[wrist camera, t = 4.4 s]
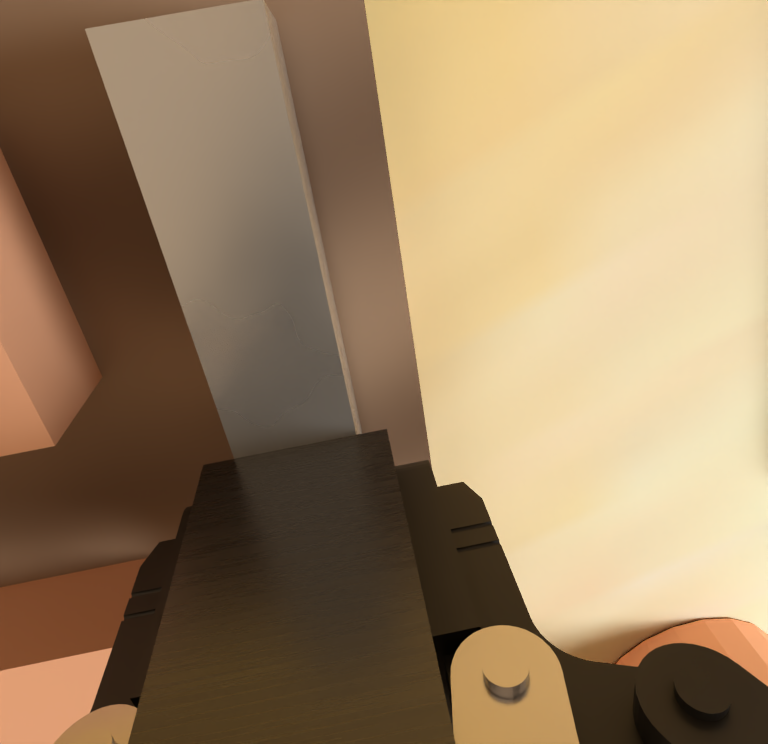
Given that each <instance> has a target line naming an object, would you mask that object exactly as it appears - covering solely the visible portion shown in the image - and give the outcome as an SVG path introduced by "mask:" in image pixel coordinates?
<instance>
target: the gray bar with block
mask: <svg viewBox="0 0 768 744" xmlns="http://www.w3.org/2000/svg"><path fill="white" fill-rule="evenodd" d="M85 31H86V34H87V37H88V40H89V42H90V45H91V48H92V51H93V54H94V57H95V60H96V63H97V65H98V68H99V71H100V74H101V77H102V80H103V83H104V86H105V89H106V91H107V94H108V97H109V100H110V103H111V106H112V109H113V112H114V114H115V117H116V120H117V123H118V126H119V129H120V132H121V135H122V137H123V140H124V143H125V146H126V149H127V152H128V155H129V158H130V160H131V163H132V166H133V169H134V172H135V175H136V178H137V181H138V183H139V186H140V189H141V192H142V195H143V198H144V201H145V204H146V207H147V209H148V212H149V215H150V218H151V221H152V224H153V227H154V230H155V232H156V235H157V238H158V241H159V244H160V247H161V250H162V253H163V255H164V258H165V261H166V264H167V267H168V270H169V273H170V276H171V278H172V281H173V284H174V287H175V290H176V293H177V296H178V299H179V302H180V304H181V307H182V310H183V313H184V316H185V319H186V322H187V325H188V327H189V330H190V333H191V336H192V339H193V342H194V345H195V348H196V350H197V353H198V356H199V359H200V362H201V365H202V368H203V371H204V373H205V376H206V379H207V382H208V385H209V388H210V391H211V394H212V396H213V399H214V402H215V405H216V408H217V411H218V414H219V417H220V420H221V422H222V425H223V428H224V431H225V434H226V437H227V440H228V443H229V445H230V448H231V451H232V454H233V457H234V459H230V460H225V461H220V462H215V463H210V464H205V465H203V468H202V471H201V475H200V479H199V482H198V486H197V490H196V494H195V497H194V501H193V505H192V508H191V512H190V516H189V519H188V523H187V527H186V531H185V534H184V538H183V542H182V545H181V549H180V553H179V556H178V560H177V564H176V568H175V571H174V575H173V579H172V582H171V586H170V590H169V593H168V597H167V601H166V604H165V608H164V612H163V616H162V619H161V623H160V627H159V630H158V634H157V638H156V641H155V645H154V649H153V653H152V656H151V660H150V664H149V667H148V671H147V675H146V678H145V682H144V686H143V689H142V693H141V697H140V701H139V704H138V708H137V712H136V715H135V719H134V723H133V726H132V730H131V734H130V738H129V741H128V744H456V743H455V739H454V734H453V729H452V725H451V720H450V716H449V711H448V707H447V702H446V697H445V693H444V688H443V684H442V679H441V675H440V670H439V666H438V661H437V656H436V652H435V647H434V643H433V638H432V634H431V629H430V624H429V620H428V615H427V611H426V606H425V602H424V597H423V592H422V588H421V583H420V579H419V574H418V570H417V565H416V560H415V556H414V551H413V547H412V542H411V538H410V533H409V528H408V524H407V519H406V515H405V510H404V506H403V501H402V496H401V492H400V487H399V483H398V478H397V474H396V469H395V464H394V460H393V455H392V451H391V446H390V442H389V437H388V432H387V429H384V430H378V431H373V432H368V433H363V434H362V430H361V425H360V420H359V415H358V410H357V406H356V401H355V396H354V391H353V386H352V382H351V377H350V372H349V367H348V362H347V358H346V353H345V348H344V343H343V338H342V334H341V329H340V324H339V319H338V314H337V310H336V305H335V300H334V295H333V290H332V286H331V281H330V276H329V271H328V266H327V262H326V257H325V252H324V247H323V243H322V238H321V233H320V228H319V223H318V219H317V214H316V209H315V204H314V199H313V195H312V190H311V185H310V180H309V175H308V171H307V166H306V161H305V156H304V151H303V147H302V142H301V137H300V132H299V127H298V123H297V118H296V113H295V108H294V103H293V99H292V94H291V89H290V84H289V79H288V75H287V70H286V65H285V60H284V55H283V51H282V46H281V41H280V36H279V32H278V27H277V22H276V19H275V18H274V16H273V14H272V13H271V11H270V10H269V8H268V6H267V5H266V3H265V1H264V0H250V1H244V2H238V3H233V4H227V5H221V6H215V7H209V8H203V9H198V10H192V11H186V12H180V13H174V14H168V15H162V16H157V17H151V18H145V19H139V20H133V21H127V22H122V23H116V24H110V25H104V26H98V27H92V28H87V29H85Z"/></svg>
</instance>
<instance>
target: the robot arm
mask: <svg viewBox="0 0 768 744" xmlns="http://www.w3.org/2000/svg"><path fill="white" fill-rule="evenodd" d="M395 469H396V474H397V478H398V483H399V487H400V492H401V496H402V501H403V506H404V510H405V515H406V519H407V524H408V528H409V533H410V538H411V542H412V547H413V551H414V556H415V560H416V565H417V570H418V574H419V579H420V583H421V588H422V592H423V597H424V602H425V606H426V611H427V615H428V620H429V624H430V629H431V634H432V638H433V643H434V647H435V652H436V656H437V661H438V666H439V670H440V675H441V679H442V684H443V688H444V693H445V697H446V702H447V707H448V711H449V716H450V720H451V725H452V729H453V734H454V739H455V743H456V744H768V686H767V685H765V684H764V683H763V682H761V681H760V680H759V679H757V678H756V677H755V676H753V675H752V674H751V673H749V672H748V671H747V670H745V669H744V668H743V667H741V666H740V665H739V664H737V663H736V662H734V661H733V660H731V659H730V658H728V657H727V656H725V655H723V654H721V653H719V652H717V651H715V650H712V649H710V648H707V647H704V646H700V645H696V644H688V643H672V644H667V645H663V646H660V647H658V648H655V649H654V650H652V651H651V652H649V653H648V654H647V655H646V656H645V657H644V658H643V659H642V661H641V662H640V664H639V666H638V667H635V666H626V665H617V664H608V663H600V662H593V661H587V660H583V659H580V658H576V657H574V656H571V655H569V654H567V653H565V652H563V651H561V650H560V649H558V648H556V647H555V646H553V645H552V644H551V643H550V642H548V641H547V640H546V639H545V638H544V637H543V636H542V635H541V634H540V632H539V631H538V630H537V628H536V627H535V625H534V624H533V622H532V620H531V618H530V615H529V613H528V610H527V608H526V605H525V603H524V601H523V598H522V596H521V593H520V591H519V588H518V586H517V583H516V581H515V578H514V576H513V573H512V571H511V569H510V566H509V564H508V561H507V559H506V556H505V554H504V551H503V549H502V546H501V545H500V543H499V539H498V537H497V534H496V532H495V529H494V527H493V526H492V523H491V519H490V517H489V514H488V512H487V510H486V507H485V505H484V502H483V500H482V498H481V497H480V496H478V495H477V494H476V493H475V492H474V491H473V490H472V489H471V488H469V487H468V486H467V485H466V484H465V483H464V482H460V483H455V484H450V485H445V486H440V487H437V484H436V481H435V478H434V475H433V471H432V468H431V465H430V462H429V460H424V461H419V462H414V463H409V464H404V465H399V466H395ZM191 508H192V506H190V507H186V508H185V510H184V512H183V514H182V518H181V521H180V525H179V528H178V532H177V535H176V539H172V540H167V541H162V542H159V543H158V545H157V546H156V547H155V548H154V550H153V551H152V552H151V553H150V555H149V556H148V557H147V559H146V560H145V561H144V562H143V564H142V565H141V566H140V568H139V571H138V574H137V577H136V580H135V583H134V586H133V589H132V592H131V595H132V597H131V598H129V601H128V604H127V606H126V609H125V612H124V615H123V616H124V621H121V624H120V627H119V630H118V633H117V636H116V639H115V642H114V645H113V647H112V650H111V653H110V656H109V659H108V662H107V665H106V668H105V671H104V674H103V677H102V680H101V683H100V685H99V688H98V691H97V694H96V697H95V700H94V703H93V706H92V709H91V711H90V713H89V714H87V715H86V716H84V717H82V718H81V719H79V720H78V721H77V722H75V723H74V724H72V725H71V726H70V727H69V728H68V729H67V730H66V731H65V732H64V733H63V734H62V735H61V736H60V737H59V738H58V739H57V740H56V741H55V742H54V744H128V741H129V738H130V734H131V730H132V726H133V723H134V719H135V715H136V712H137V708H138V704H139V701H140V697H141V693H142V689H143V686H144V682H145V678H146V675H147V671H148V667H149V664H150V660H151V656H152V653H153V649H154V645H155V641H156V638H157V634H158V630H159V627H160V623H161V619H162V616H163V612H164V608H165V604H166V601H167V597H168V593H169V590H170V586H171V582H172V579H173V575H174V571H175V568H176V564H177V560H178V556H179V553H180V549H181V545H182V542H183V538H184V534H185V531H186V527H187V523H188V519H189V516H190V512H191Z"/></svg>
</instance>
